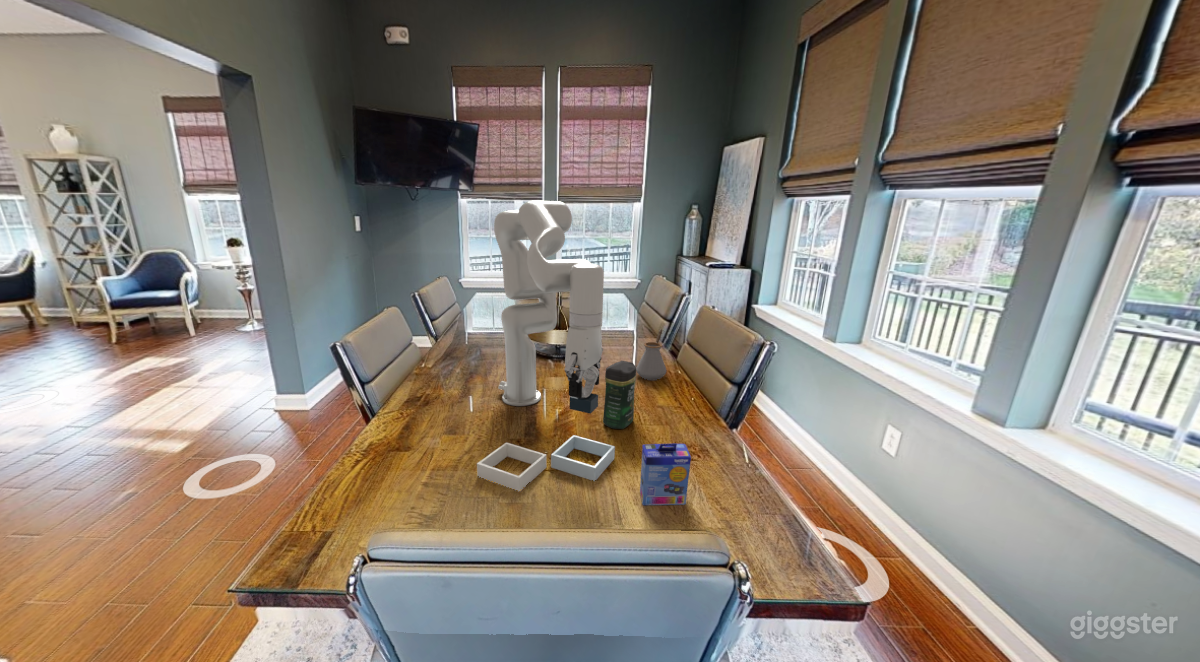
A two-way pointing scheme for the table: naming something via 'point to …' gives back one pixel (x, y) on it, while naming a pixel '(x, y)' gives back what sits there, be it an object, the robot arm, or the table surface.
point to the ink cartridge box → (664, 474)
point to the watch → (586, 392)
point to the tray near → (506, 478)
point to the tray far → (578, 467)
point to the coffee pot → (652, 361)
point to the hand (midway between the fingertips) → (584, 389)
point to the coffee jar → (619, 395)
